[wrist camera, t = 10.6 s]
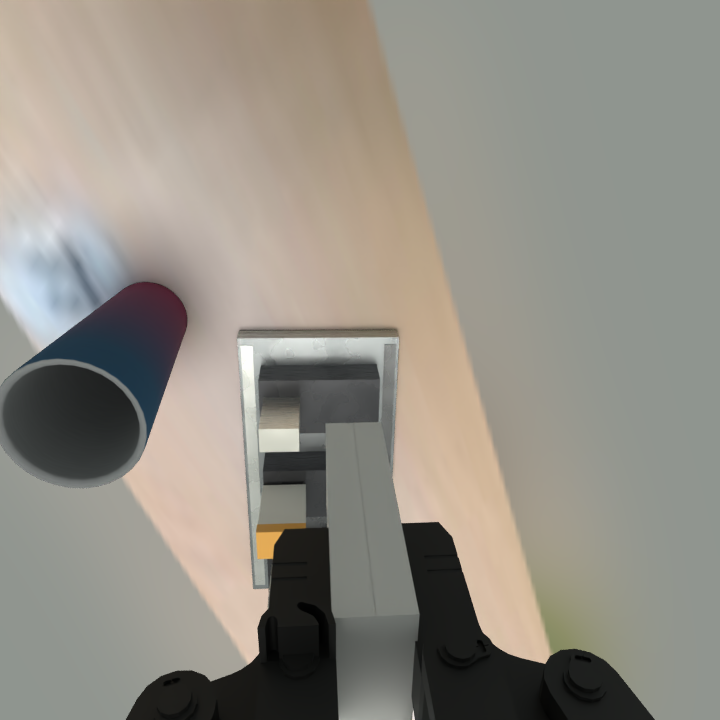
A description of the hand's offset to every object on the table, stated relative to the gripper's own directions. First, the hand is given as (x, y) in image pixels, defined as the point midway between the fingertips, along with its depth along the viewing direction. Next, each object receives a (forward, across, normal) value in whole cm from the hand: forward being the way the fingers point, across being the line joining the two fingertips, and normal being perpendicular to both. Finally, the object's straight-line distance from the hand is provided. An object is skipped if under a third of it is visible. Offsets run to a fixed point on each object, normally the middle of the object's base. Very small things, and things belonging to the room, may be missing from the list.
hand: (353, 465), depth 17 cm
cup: (+26, -12, -5) cm, 29 cm away
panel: (+26, -1, -17) cm, 31 cm away
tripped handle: (+22, -3, -17) cm, 28 cm away
